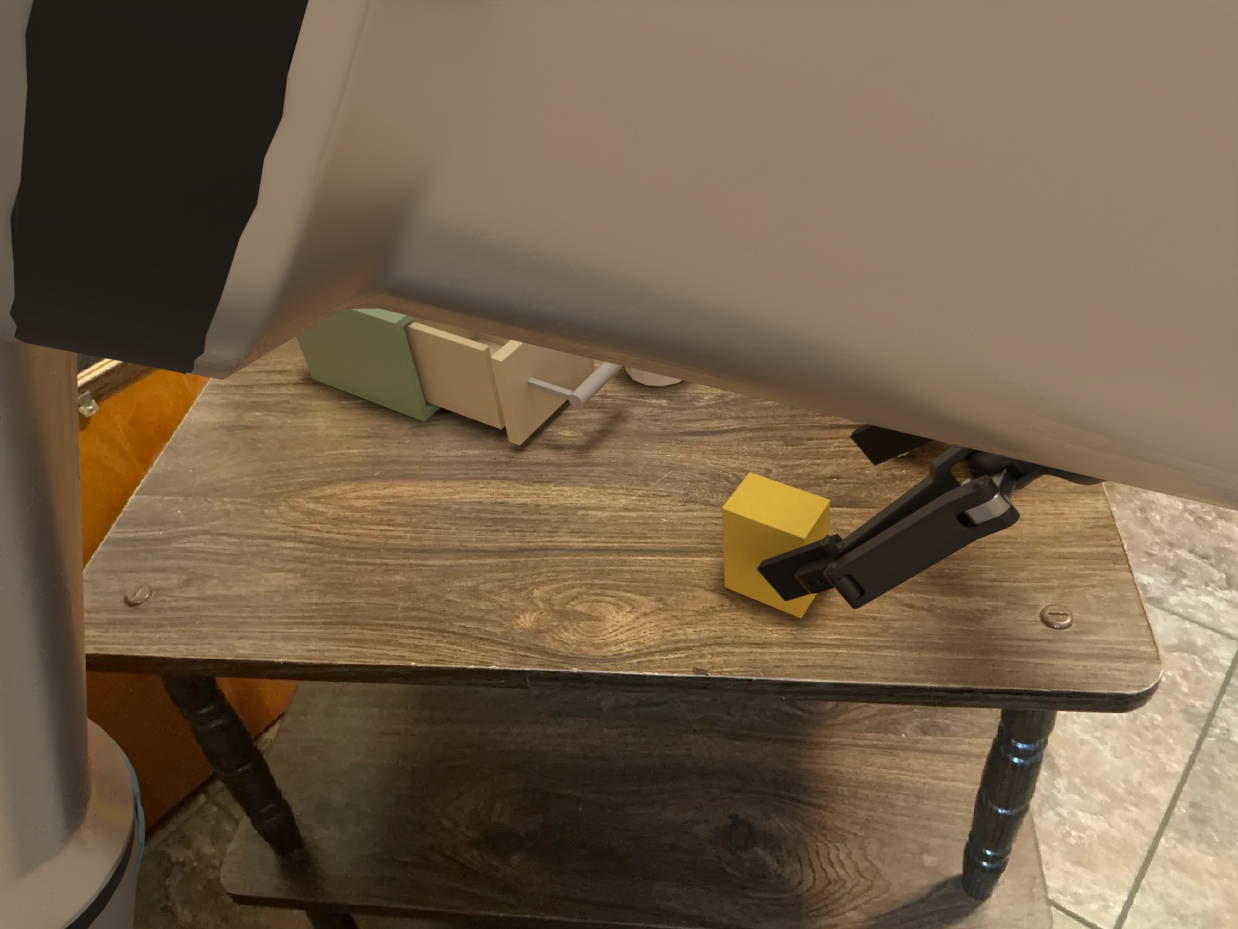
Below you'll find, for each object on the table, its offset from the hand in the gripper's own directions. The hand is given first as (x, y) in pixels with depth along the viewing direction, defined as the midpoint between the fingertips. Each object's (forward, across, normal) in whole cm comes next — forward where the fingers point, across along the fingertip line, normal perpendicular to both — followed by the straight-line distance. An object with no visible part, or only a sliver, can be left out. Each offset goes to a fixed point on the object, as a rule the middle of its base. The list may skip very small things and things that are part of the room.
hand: (821, 510), depth 63 cm
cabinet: (+39, +8, +27) cm, 48 cm away
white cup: (+24, +19, +11) cm, 32 cm away
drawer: (+28, +8, +17) cm, 34 cm away
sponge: (+8, 0, -4) cm, 9 cm away
